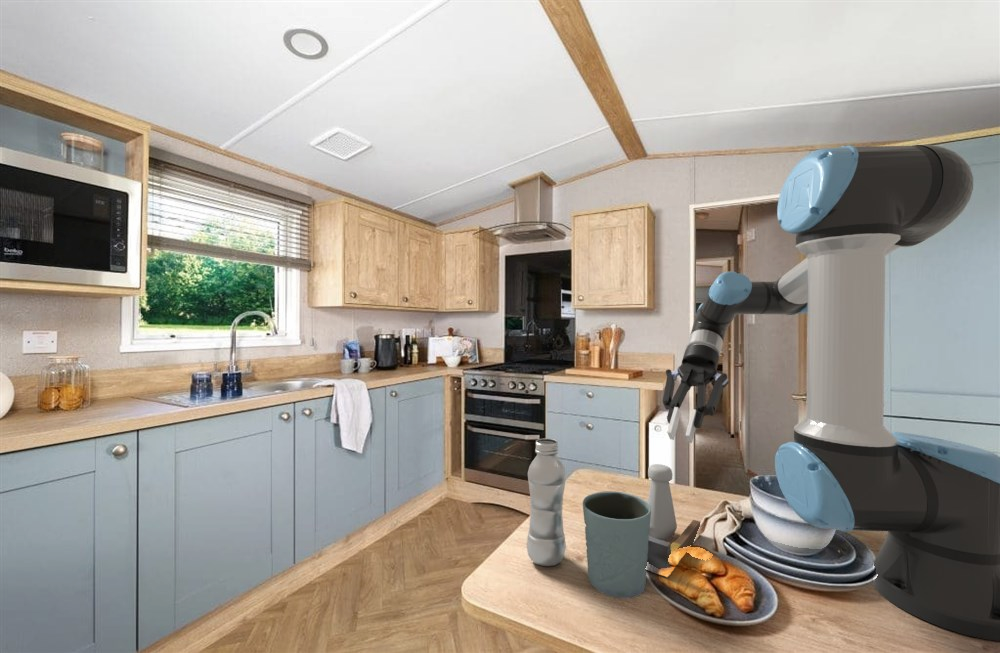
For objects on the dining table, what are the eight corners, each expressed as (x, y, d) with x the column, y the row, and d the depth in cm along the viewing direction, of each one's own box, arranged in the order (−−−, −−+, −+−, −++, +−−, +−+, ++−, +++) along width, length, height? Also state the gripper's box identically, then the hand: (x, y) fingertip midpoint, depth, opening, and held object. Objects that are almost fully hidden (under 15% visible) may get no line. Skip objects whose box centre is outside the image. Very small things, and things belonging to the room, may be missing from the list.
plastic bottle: (518, 560, 70) (518, 441, 70) (545, 545, 75) (545, 434, 75) (547, 577, 66) (547, 449, 65) (574, 560, 70) (574, 441, 70)
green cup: (650, 570, 68) (651, 495, 68) (650, 610, 58) (651, 524, 58) (587, 557, 71) (587, 487, 71) (577, 594, 62) (577, 512, 61)
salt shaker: (671, 528, 81) (671, 461, 81) (681, 543, 76) (681, 472, 76) (640, 527, 82) (640, 460, 82) (647, 542, 76) (648, 470, 76)
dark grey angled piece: (700, 534, 79) (700, 508, 79) (667, 578, 65) (667, 546, 65) (640, 516, 86) (640, 492, 86) (600, 552, 73) (600, 523, 73)
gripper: (742, 366, 97) (725, 455, 84) (671, 361, 107) (646, 440, 94) (737, 343, 92) (718, 434, 80) (664, 341, 103) (636, 421, 90)
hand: (679, 437), depth 87 cm, fingers open, 3 cm apart
